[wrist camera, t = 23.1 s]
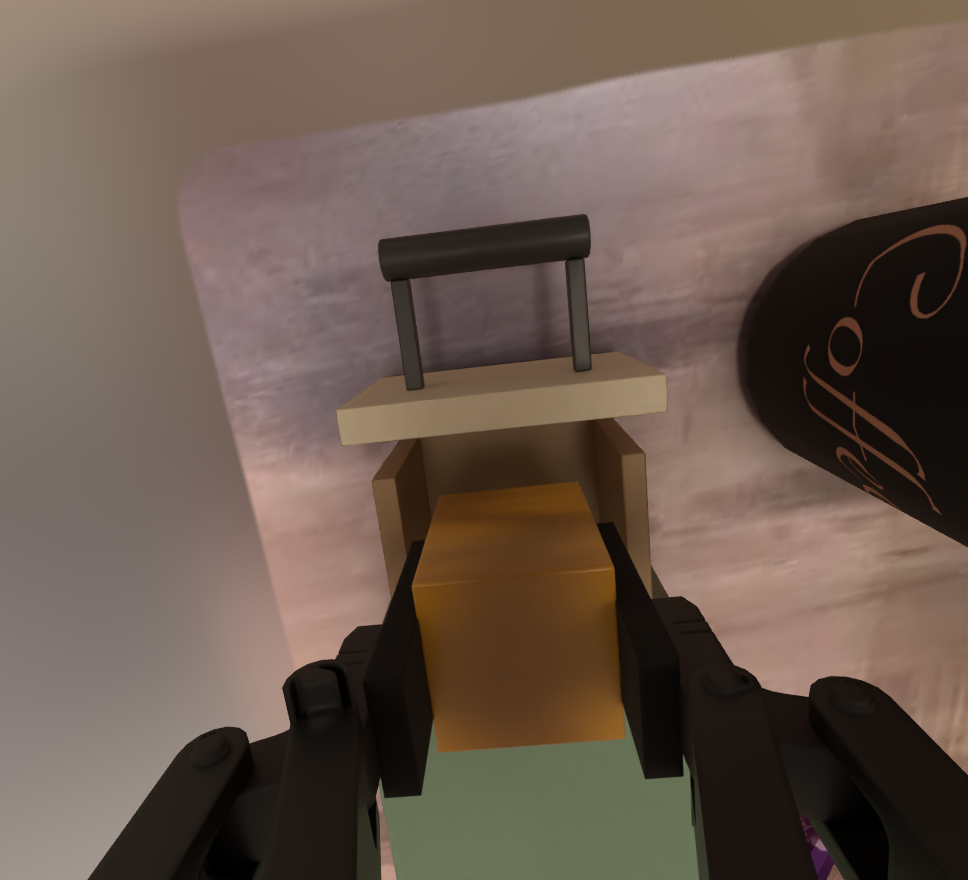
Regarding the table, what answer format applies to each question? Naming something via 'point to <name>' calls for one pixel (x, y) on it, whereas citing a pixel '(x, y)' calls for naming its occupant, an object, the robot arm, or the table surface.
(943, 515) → the coffee jar
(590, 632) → the block
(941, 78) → the table surface
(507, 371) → the drawer
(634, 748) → the cabinet
